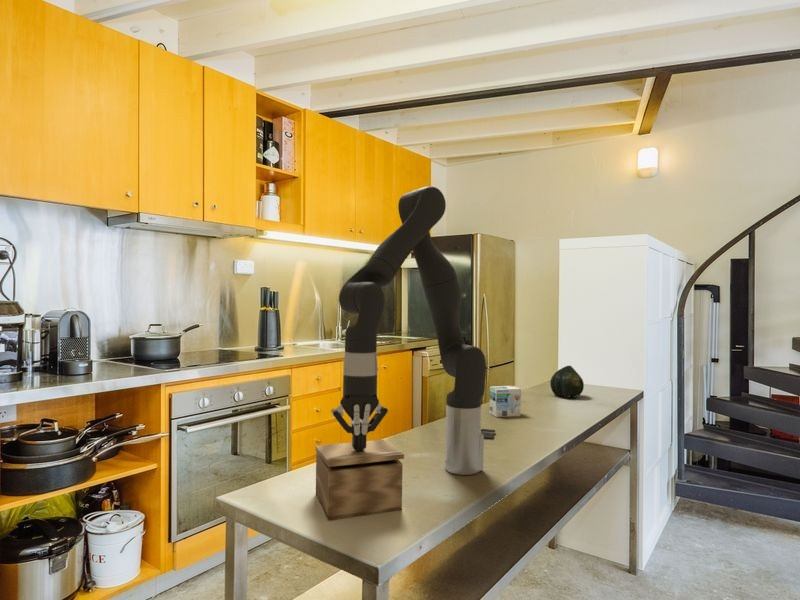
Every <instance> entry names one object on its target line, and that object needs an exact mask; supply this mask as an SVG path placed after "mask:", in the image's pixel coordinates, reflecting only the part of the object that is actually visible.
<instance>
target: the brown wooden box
mask: <svg viewBox="0 0 800 600" xmlns="http://www.w3.org/2000/svg"><path fill="white" fill-rule="evenodd" d="M315 496H316V498H317V500H318V503H319V504H320V506H321V508H322V510H323V513H324V514H325V516H326V518H327V520H328V522H329V521H334V520H335V521H336V520H341V519H348V518H354V517H363V516H369V515H375V514H383V513H389V512H397V511H402V510H403V463H402V461H401V460H400V459H398V460H388V461H379V462H370V463H361V464H352V465H342V466H333V467H328V466H327V464H326V463H325V462H324V460H323V459H322V458H321V457H320V455H319V454H318V453H317V452H316V451H315Z"/></svg>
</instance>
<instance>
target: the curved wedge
mask: <svg viewBox="0 0 800 600" xmlns="http://www.w3.org/2000/svg"><path fill="white" fill-rule="evenodd" d="M495 433H496V430H495V429H487V428H481V434H483V435H484V440H494V439H495Z"/></svg>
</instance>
